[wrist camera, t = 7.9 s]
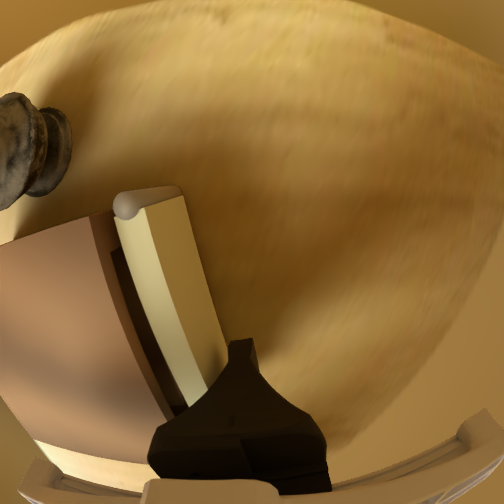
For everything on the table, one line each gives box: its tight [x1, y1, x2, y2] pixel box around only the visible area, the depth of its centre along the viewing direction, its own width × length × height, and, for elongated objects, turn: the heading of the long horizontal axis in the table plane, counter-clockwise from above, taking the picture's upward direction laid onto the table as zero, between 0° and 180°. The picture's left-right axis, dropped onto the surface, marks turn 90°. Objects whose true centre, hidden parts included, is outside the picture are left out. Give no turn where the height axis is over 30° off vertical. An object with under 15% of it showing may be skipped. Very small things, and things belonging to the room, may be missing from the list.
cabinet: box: [0, 209, 189, 465], centre depth 11 cm, size 11×11×6 cm
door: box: [113, 185, 228, 407], centre depth 11 cm, size 11×2×6 cm, turn 13°
